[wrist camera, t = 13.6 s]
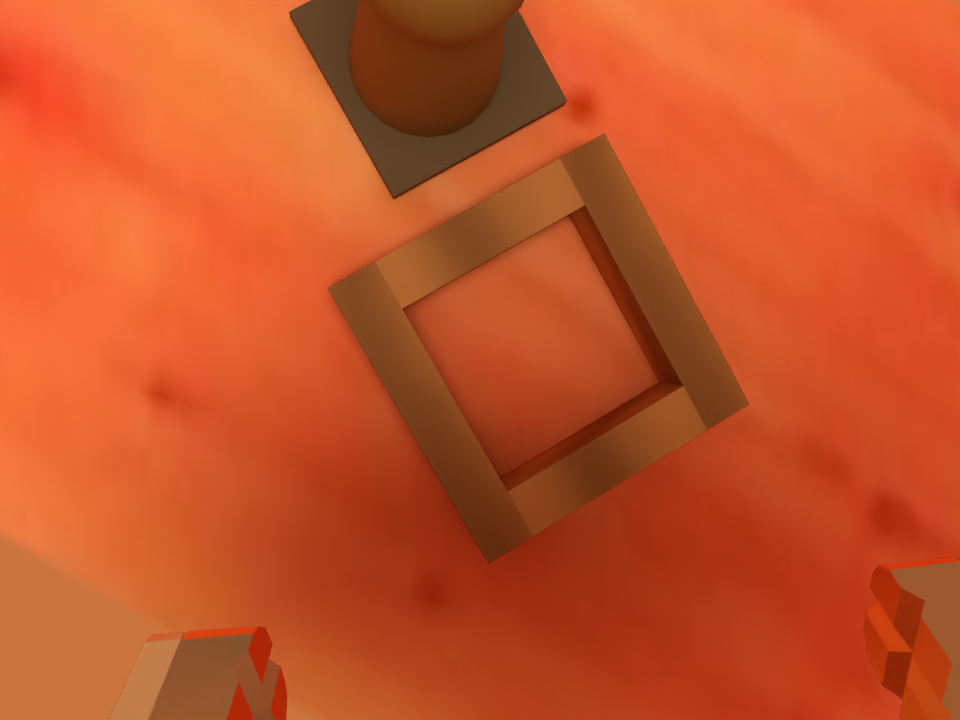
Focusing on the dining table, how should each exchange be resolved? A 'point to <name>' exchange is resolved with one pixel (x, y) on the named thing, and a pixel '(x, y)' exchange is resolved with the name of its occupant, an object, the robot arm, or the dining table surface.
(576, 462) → the walnut housing
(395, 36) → the cork
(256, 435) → the dining table surface
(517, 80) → the rubber mat
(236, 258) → the dining table surface
